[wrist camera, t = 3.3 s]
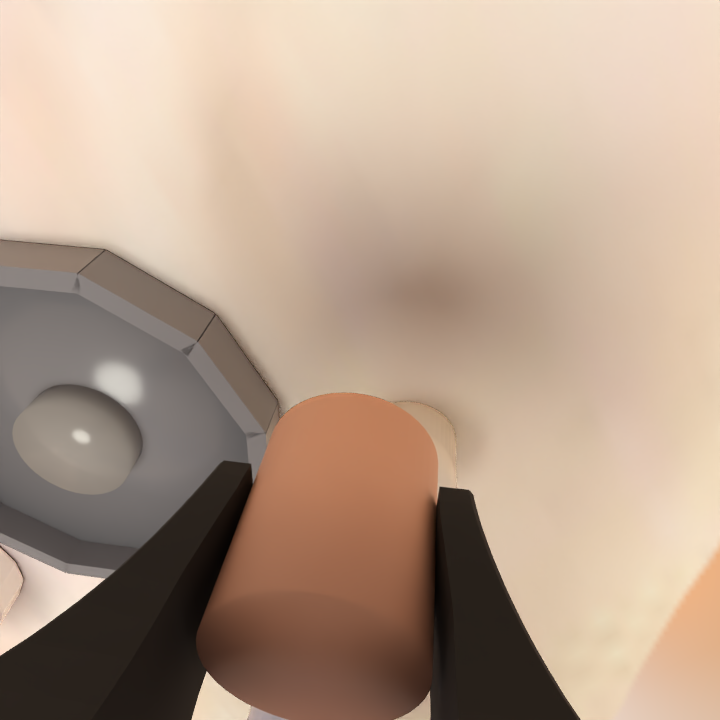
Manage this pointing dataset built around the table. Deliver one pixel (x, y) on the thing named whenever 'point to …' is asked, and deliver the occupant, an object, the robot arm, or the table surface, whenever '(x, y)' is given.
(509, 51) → the table surface
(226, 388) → the groove tray
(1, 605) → the white cup
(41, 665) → the robot arm
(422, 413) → the bead cream
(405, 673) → the bead terracotta
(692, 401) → the table surface
